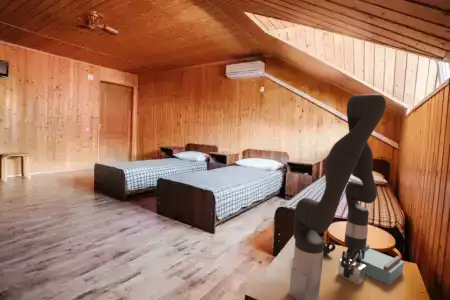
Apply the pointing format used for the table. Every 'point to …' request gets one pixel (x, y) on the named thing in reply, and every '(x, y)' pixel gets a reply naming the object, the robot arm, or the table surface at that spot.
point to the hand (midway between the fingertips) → (351, 273)
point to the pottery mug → (327, 247)
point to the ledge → (382, 266)
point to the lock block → (354, 272)
